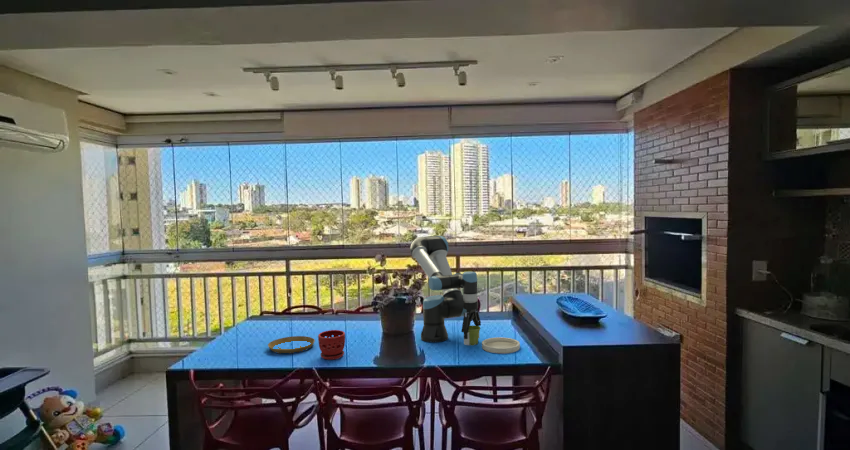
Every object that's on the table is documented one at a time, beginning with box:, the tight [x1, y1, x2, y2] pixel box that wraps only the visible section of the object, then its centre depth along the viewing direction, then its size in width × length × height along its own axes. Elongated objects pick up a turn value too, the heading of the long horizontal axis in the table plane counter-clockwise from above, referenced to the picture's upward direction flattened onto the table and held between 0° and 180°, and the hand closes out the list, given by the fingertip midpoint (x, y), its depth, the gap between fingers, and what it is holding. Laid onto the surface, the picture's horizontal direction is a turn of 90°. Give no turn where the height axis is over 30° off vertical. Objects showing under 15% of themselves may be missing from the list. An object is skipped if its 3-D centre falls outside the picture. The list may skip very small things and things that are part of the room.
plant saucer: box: [267, 335, 316, 354], centre depth 238 cm, size 24×24×3 cm
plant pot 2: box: [468, 324, 481, 346], centre depth 234 cm, size 9×9×9 cm
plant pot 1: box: [317, 329, 346, 361], centre depth 220 cm, size 13×13×12 cm
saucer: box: [481, 336, 521, 355], centre depth 226 cm, size 19×19×2 cm
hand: (472, 341), depth 234 cm, fingers open, 13 cm apart
